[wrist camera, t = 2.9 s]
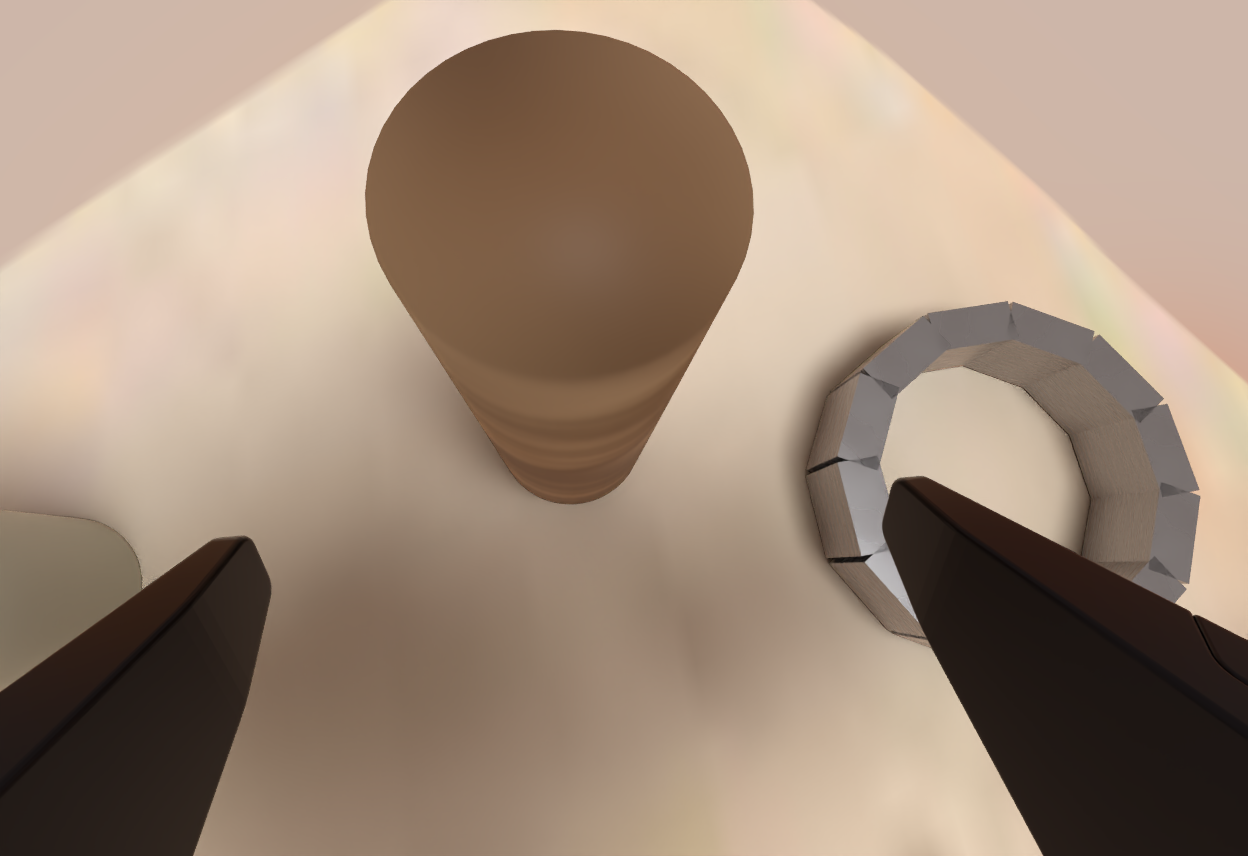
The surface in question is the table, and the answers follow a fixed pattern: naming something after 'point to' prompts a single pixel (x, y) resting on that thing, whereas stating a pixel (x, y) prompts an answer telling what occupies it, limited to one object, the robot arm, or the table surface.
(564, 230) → the walnut peg
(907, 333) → the steel ring
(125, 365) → the table surface
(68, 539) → the grey-green peg
